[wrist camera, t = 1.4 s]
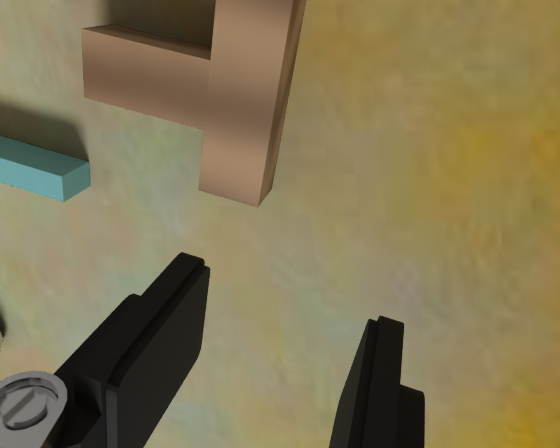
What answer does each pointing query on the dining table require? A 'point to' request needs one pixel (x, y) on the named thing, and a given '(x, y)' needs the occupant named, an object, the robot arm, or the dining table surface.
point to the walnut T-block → (209, 87)
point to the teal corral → (42, 170)
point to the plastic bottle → (1, 340)
